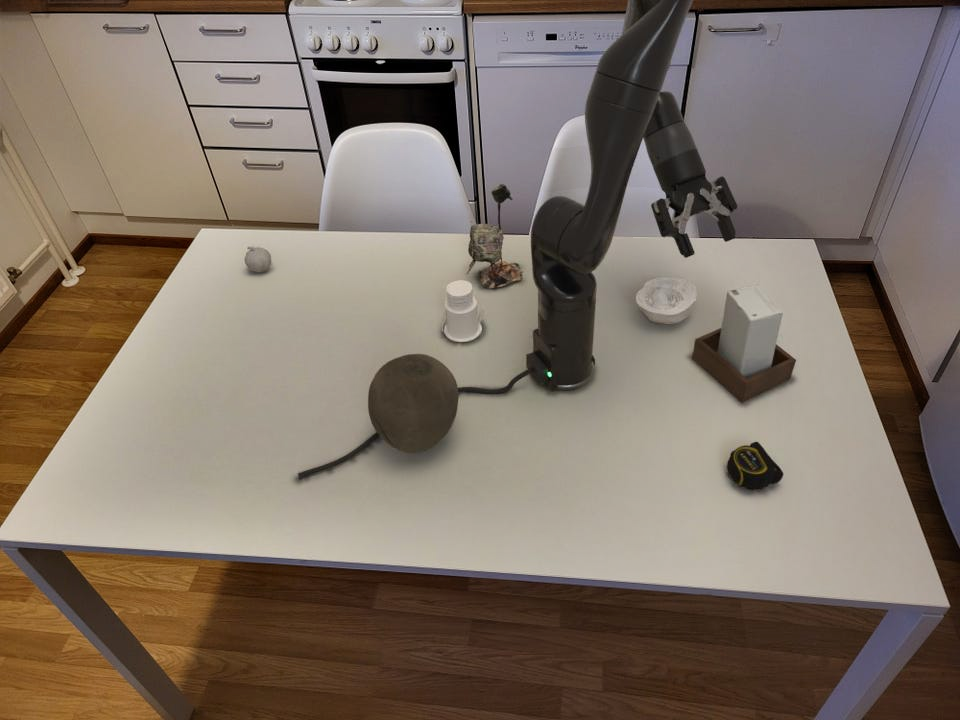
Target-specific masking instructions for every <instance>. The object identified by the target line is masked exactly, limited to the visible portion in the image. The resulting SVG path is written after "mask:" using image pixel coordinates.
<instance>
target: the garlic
mask: <svg viewBox="0 0 960 720" xmlns="http://www.w3.org/2000/svg"><path fill="white" fill-rule="evenodd" d="M246 249H247V250H248V251H246V253H245V256H244V264H245V266H246V267H247V268H248V269H249V270H250V271H252V272H253V273H262V272H266V271H268V270H269V269H270V267H271V265H272V255H271V253H270V252H269V250H268V249H265V248H264V247H260V246H259V247H258V246H256V247H255V246H247V247H246Z"/></svg>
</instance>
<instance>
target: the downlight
mask: <svg viewBox="0 0 960 720" xmlns="http://www.w3.org/2000/svg"><path fill="white" fill-rule="evenodd" d="M445 289H446V299H445V301H444V309H443V314H442V317H441V321H440V329H441V332H443V333H444V335H445V337H446V338H448V339H449V340H450V341H452V342H455V343H456V342H457V343H466V342H467V343H468V342H471V341H474V340H475V339H477V338H478V337H480V335H481V333H482V331H483V326H482V324H481V321H482V318H483V315H484V307H483V305H482V304H480V314H479V313H478V301H477V299H476V297H475V296H474V291H473V290H474V289H473V284H472V283H470V282H469V281H467V280H465V279H464V280H462V279H458V280H453V281H451V282H450V283H448V284H447V286H446V288H445ZM478 315H479V316H478ZM445 321H446V322H445ZM444 322H445V323H446V324H445V325H444ZM443 326H444V328H443Z"/></svg>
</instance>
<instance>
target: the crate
mask: <svg viewBox="0 0 960 720" xmlns="http://www.w3.org/2000/svg"><path fill="white" fill-rule="evenodd" d="M721 328H722V327H720V328H718V329H715V330H713V331H711V332H709V333H706V334H704V335H702V336H700V337H697V338H695V339H694V345H693V350H692V355H691V359H692V360H694V362H695V363H696V364H698V365H699V366H700V368H702V369H703V370H704V371H706V373H708V374H709V375H710V376H711V377H712V378H713V379H715V380H716V381H717V382H718V384H720V385H721V386H722V387H724V388H725V389H726V390H727V391H728V392H729V393H730V394H731V395H733V396H734V397H735V398H736V399H737V400H738V401H739V402H740V403H741V404H743V403H745V402H746V401H749V400H751V399H753V398H755V397H757V396H759V395H761V394H763V393H765V392H767V391H769V390H772V389H774V388H775V387H778V386H780V385H781V384H784V383H786V382H787V381H789V380H791V379H792V375H793V371H794V368H795V365H796V362H797V359H796V358H795V357H793V356H792V355H791V354H790V353H788V352H787V351H786V350H784V349H783V348H782V347H781V346H779V345H778V344H777V343H776V346H775V351H774V356H773V360H772V365H771V368H769V369H767V370H765V371H763V372H761V373H759V374H757V375H755V376H753V377H751V378H748V379H747V378H745V377H744V376H743V375H742V374H741V373H740V372H738V371H737V370H736V369H735V368H734V367H733V366H731V365H730V364H729V363H728V362H727V361H726V360H724V359H723V358H722V357H721V356H720V355H719V354H717V353H718V346H719V340H720V334H721Z"/></svg>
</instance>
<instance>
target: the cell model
mask: <svg viewBox="0 0 960 720" xmlns="http://www.w3.org/2000/svg"><path fill="white" fill-rule="evenodd" d="M697 295H698V288H697V287H696V286H695V285H694V284H693V283H692V282H691V281H689V280H687V279H685V278H684V279H683V278H679V277H678V278H677V277H668V276H661V277H656V278H652V279H649V280H647V281H646V282H645V283H644V285H643V286H642V288H641V289H640V290H638V291H637V293H636V295H635V302H636V303H637V306H638V309H640V310H641V312H643V314H644V315H645V316H646V317H647V319H648V320H649V321H650V322H652V323H658V324H665V325H675V324H678V323H680V322H682V321H684V320H685V319H687V318H688V317H689V316H690V315H691V313H692V311H693V309H694V307H695V304H696V300H697Z"/></svg>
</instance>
